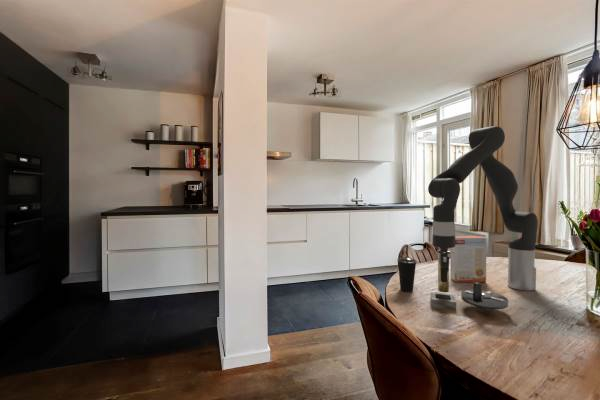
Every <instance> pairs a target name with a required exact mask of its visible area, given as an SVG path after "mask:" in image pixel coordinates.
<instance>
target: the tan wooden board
mask: <svg viewBox="0 0 600 400" xmlns="http://www.w3.org/2000/svg"><path fill="white" fill-rule="evenodd" d="M430 307H431V309H430V310H431V313H437V314H445V315H452V316H461V317H467V318H468V317H469V318H473V319H474V318H475V319H482V320H489V321H495V322H496V321H498V322H504V323H511V321H510V319H509V318H508V316H507V315H506V313H505V311H504V310H503V309H487V308H481V307H477V306H474V305H471V304H468V303H466V302H464V301H463V300H462V299H461V300H458V299H456V296H455V294H452V293H446V292H434V291H430Z"/></svg>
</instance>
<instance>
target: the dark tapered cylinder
mask: <svg viewBox="0 0 600 400" xmlns="http://www.w3.org/2000/svg"><path fill="white" fill-rule="evenodd" d="M417 262H418V261H417V260H416V259H415V258H413V257H410V256H409V245H408V244H407V245H406V246H405V256H403V257H400V258H398V259H397V264H398V276H399V287H400V291H402V292H405V293H412V292H414V285H415V274H416V265H417Z"/></svg>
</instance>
